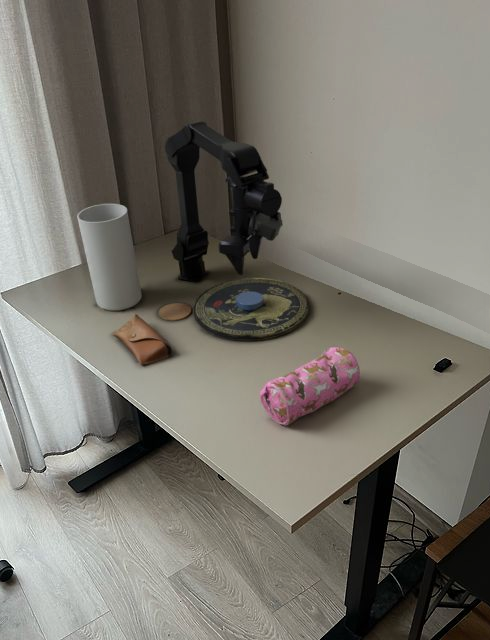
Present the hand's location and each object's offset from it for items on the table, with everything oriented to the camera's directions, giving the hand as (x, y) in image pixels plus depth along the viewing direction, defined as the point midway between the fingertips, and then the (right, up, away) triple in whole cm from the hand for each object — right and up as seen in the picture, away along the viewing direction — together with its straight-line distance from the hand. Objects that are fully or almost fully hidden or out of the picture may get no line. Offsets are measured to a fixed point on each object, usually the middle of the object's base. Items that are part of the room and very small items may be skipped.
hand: (248, 266), depth 148 cm
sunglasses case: (-26, -20, -1) cm, 33 cm away
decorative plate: (+1, -10, +9) cm, 13 cm away
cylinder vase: (-35, -6, +18) cm, 40 cm away
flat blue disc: (+1, -9, +7) cm, 11 cm away
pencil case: (+12, -33, -23) cm, 42 cm away
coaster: (-19, -10, +11) cm, 24 cm away
